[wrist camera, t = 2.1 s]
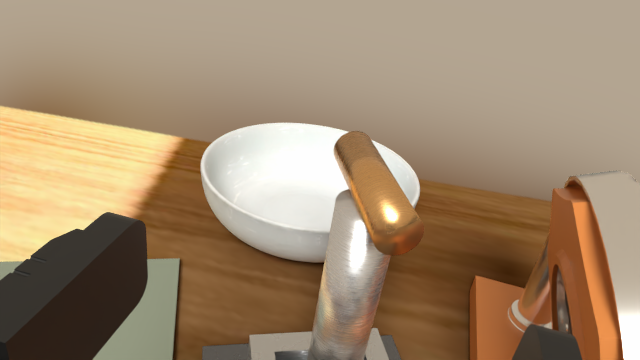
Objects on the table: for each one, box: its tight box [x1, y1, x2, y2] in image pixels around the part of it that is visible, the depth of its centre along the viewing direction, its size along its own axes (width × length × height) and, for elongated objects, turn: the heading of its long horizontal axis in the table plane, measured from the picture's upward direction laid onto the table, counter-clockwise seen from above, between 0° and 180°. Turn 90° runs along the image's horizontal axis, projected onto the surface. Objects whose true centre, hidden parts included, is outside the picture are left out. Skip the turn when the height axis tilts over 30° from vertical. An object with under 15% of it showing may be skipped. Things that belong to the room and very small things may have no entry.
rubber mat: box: [0, 259, 180, 360], centre depth 34 cm, size 16×16×1 cm
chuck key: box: [307, 131, 424, 360], centre depth 26 cm, size 7×4×18 cm, turn 11°
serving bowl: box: [201, 123, 420, 263], centre depth 49 cm, size 21×21×7 cm
